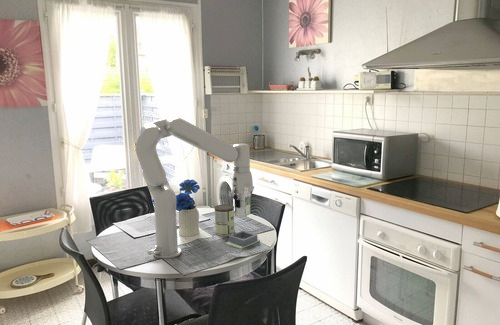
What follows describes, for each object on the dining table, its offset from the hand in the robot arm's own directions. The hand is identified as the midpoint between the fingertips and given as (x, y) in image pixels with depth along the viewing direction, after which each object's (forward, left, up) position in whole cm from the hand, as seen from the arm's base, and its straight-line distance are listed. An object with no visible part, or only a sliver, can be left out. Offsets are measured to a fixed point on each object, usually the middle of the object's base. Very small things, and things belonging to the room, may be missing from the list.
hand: (242, 205), depth 200 cm
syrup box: (0, 0, -5) cm, 5 cm away
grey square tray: (0, 0, -19) cm, 19 cm away
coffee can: (+4, +17, -19) cm, 26 cm away
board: (0, 0, -19) cm, 19 cm away
